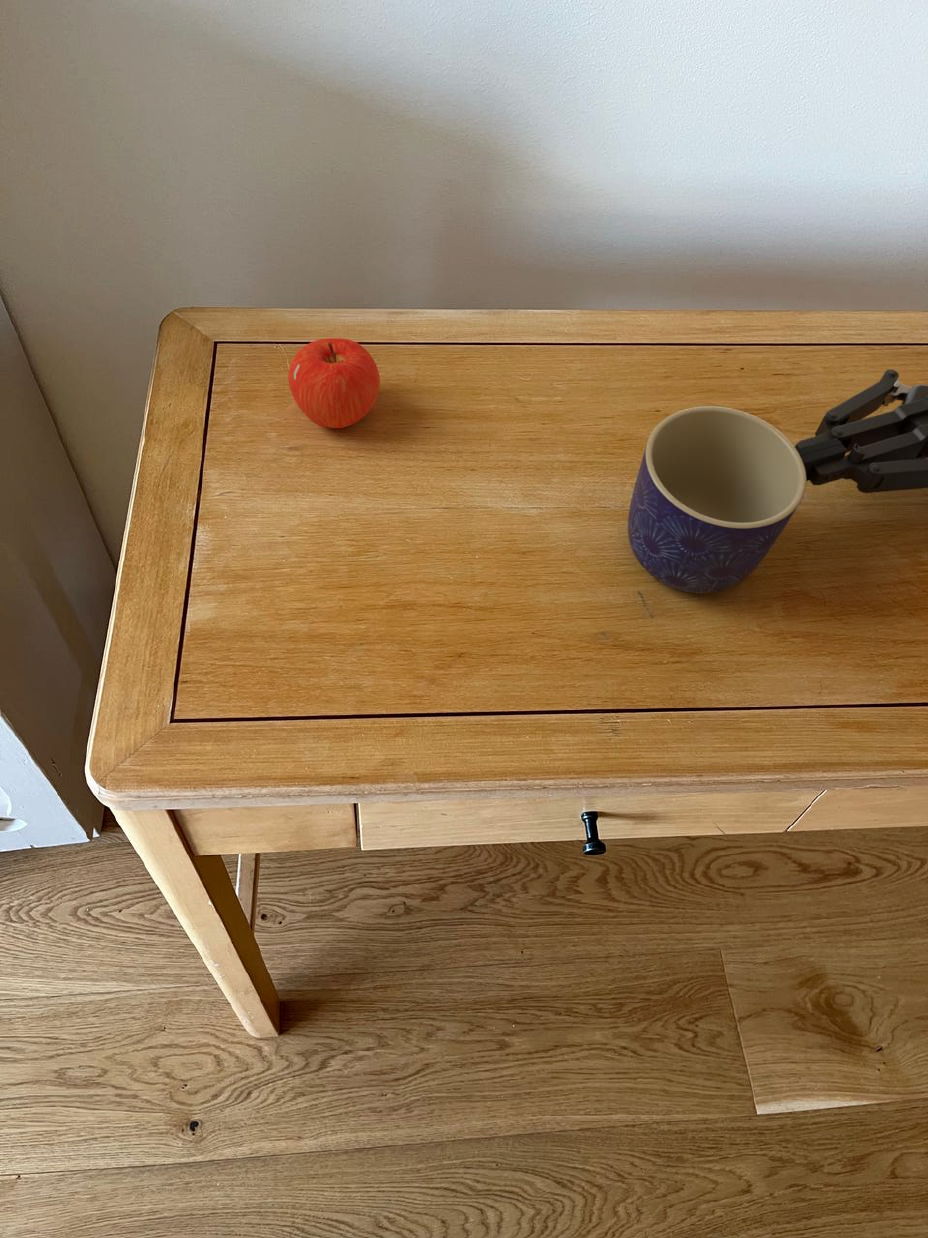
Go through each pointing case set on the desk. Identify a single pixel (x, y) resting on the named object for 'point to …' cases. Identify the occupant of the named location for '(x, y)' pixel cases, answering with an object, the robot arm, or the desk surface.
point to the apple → (334, 381)
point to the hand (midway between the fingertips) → (771, 474)
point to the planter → (712, 497)
